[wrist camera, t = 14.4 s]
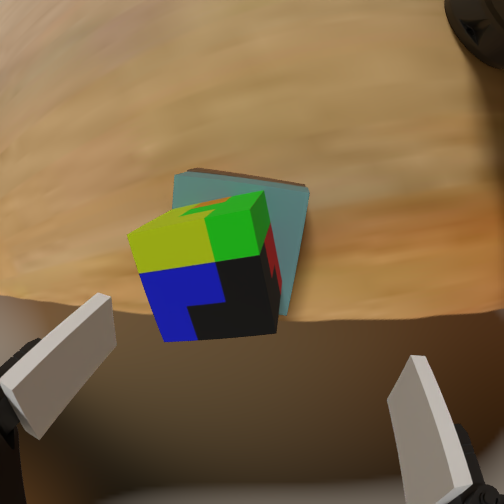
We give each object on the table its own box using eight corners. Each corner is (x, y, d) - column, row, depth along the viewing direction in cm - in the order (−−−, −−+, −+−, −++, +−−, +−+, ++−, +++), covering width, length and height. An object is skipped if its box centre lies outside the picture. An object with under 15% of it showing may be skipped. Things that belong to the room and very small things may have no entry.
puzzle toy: (196, 292, 35) (164, 342, 26) (172, 209, 32) (126, 234, 23) (282, 281, 33) (276, 333, 24) (264, 190, 30) (249, 209, 21)
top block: (188, 171, 35) (174, 174, 31) (307, 187, 34) (309, 193, 30) (181, 278, 40) (169, 293, 36) (287, 297, 39) (286, 315, 34)
